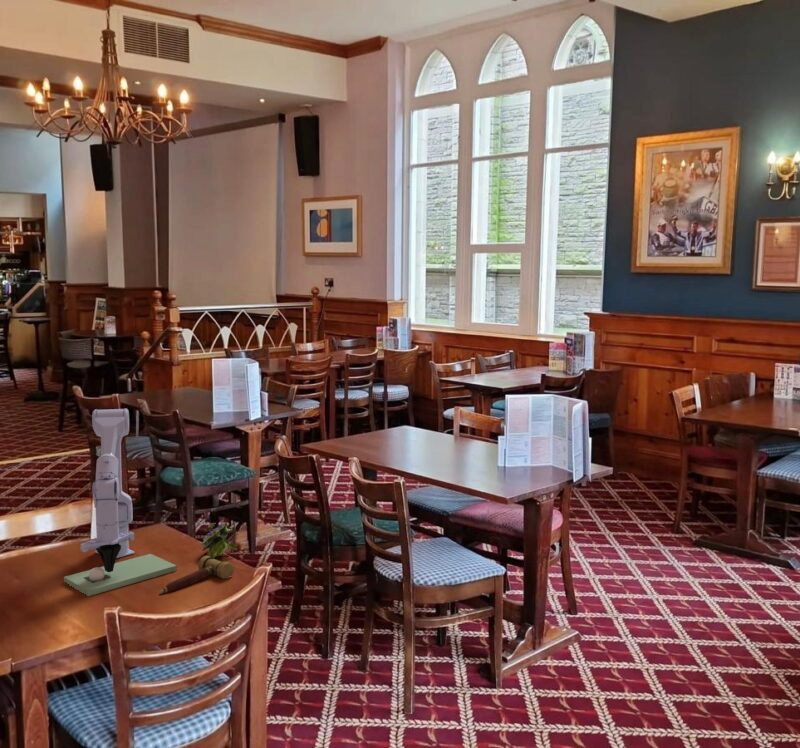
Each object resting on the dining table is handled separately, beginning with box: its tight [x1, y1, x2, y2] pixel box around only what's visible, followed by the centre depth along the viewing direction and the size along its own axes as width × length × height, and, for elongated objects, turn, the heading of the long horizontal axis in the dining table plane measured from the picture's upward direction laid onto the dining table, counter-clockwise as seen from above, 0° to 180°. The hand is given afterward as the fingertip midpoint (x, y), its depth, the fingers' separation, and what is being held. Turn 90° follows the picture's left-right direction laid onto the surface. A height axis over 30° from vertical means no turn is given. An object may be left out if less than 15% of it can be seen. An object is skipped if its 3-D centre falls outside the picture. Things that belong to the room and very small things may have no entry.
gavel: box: [159, 555, 235, 594], centre depth 224 cm, size 21×5×10 cm
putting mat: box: [63, 553, 178, 597], centre depth 228 cm, size 14×26×2 cm, turn 137°
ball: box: [89, 566, 105, 582], centre depth 223 cm, size 4×4×4 cm
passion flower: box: [201, 521, 238, 559], centre depth 246 cm, size 11×11×12 cm
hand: (109, 570), depth 225 cm, fingers closed
